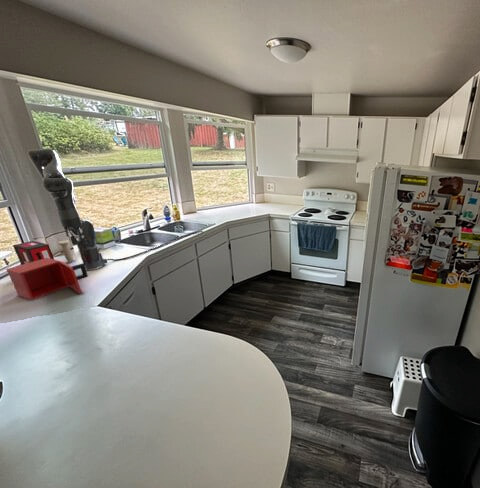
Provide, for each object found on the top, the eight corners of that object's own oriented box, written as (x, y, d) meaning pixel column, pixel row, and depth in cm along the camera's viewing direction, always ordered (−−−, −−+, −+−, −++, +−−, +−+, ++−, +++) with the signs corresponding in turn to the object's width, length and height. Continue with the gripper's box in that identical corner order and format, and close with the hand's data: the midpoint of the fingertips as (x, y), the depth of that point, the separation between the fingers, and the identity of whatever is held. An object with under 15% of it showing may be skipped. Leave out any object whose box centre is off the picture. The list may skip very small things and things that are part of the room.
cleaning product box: (59, 273, 159) (48, 244, 152) (40, 279, 151) (28, 249, 144) (44, 269, 164) (33, 240, 157) (25, 275, 156) (12, 245, 149)
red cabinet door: (83, 281, 150) (74, 258, 145) (94, 289, 143) (86, 264, 137) (68, 286, 145) (59, 261, 139) (80, 294, 137) (70, 268, 132)
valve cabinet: (69, 286, 146) (59, 261, 140) (31, 300, 131) (19, 273, 126) (56, 282, 149) (46, 257, 144) (18, 295, 135) (6, 269, 129)
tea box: (88, 247, 201) (82, 230, 196) (101, 243, 210) (95, 226, 205) (104, 249, 199) (99, 231, 194) (116, 244, 208) (111, 227, 203)
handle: (65, 264, 172) (57, 243, 167) (66, 261, 177) (59, 241, 171) (75, 262, 175) (67, 242, 170) (76, 259, 180) (69, 239, 174)
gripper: (86, 217, 131) (95, 245, 137) (71, 213, 137) (80, 241, 142) (67, 220, 125) (78, 250, 131) (52, 216, 130) (63, 245, 136)
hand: (79, 245), depth 137 cm, fingers open, 8 cm apart
